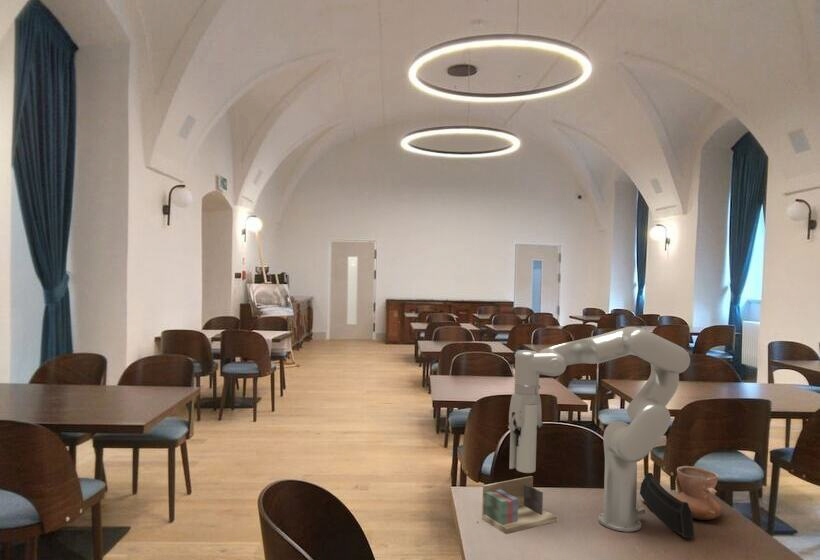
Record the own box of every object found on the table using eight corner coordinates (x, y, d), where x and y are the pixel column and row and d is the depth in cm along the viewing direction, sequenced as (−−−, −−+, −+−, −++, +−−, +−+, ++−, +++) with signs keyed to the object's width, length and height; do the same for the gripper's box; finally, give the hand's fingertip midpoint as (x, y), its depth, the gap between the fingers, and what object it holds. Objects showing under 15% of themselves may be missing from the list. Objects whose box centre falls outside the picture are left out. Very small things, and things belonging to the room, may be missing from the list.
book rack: (482, 518, 177) (482, 485, 177) (530, 507, 187) (531, 475, 187) (506, 533, 166) (507, 498, 166) (556, 521, 176) (557, 487, 176)
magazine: (699, 514, 162) (655, 454, 191) (688, 514, 162) (645, 453, 190) (689, 562, 167) (647, 496, 195) (678, 562, 167) (638, 496, 195)
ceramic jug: (734, 525, 176) (735, 480, 177) (692, 526, 174) (692, 480, 175) (697, 503, 194) (698, 462, 194) (659, 504, 192) (659, 463, 193)
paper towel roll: (538, 470, 177) (540, 402, 177) (529, 475, 172) (531, 405, 172) (518, 464, 181) (520, 399, 181) (509, 469, 177) (511, 401, 177)
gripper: (538, 385, 184) (536, 441, 184) (498, 389, 176) (497, 447, 176) (554, 390, 178) (553, 447, 177) (513, 394, 170) (512, 454, 169)
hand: (525, 447), depth 177 cm, fingers closed on paper towel roll, 3 cm apart
